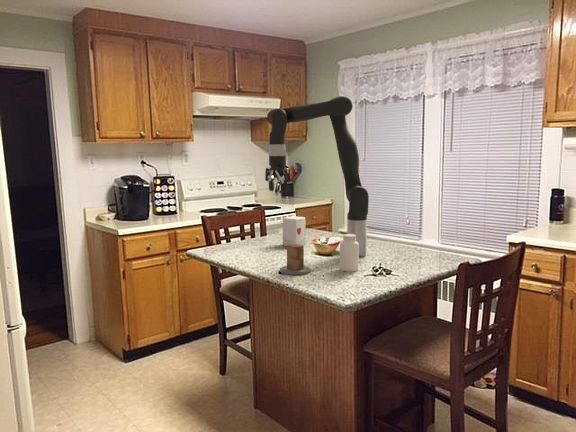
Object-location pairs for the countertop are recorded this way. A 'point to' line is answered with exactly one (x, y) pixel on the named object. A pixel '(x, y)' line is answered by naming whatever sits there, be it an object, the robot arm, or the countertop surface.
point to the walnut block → (295, 257)
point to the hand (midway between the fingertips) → (277, 191)
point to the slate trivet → (291, 272)
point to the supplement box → (293, 230)
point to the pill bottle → (349, 253)
